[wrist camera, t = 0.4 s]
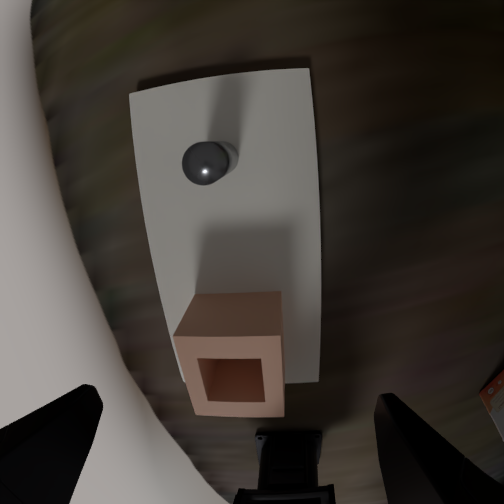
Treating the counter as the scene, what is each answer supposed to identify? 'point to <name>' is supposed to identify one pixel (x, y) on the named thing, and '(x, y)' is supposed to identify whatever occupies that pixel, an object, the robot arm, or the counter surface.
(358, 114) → the counter surface
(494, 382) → the cracker box
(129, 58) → the counter surface
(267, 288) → the base plate
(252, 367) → the pink hollow square block
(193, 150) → the steel pin
